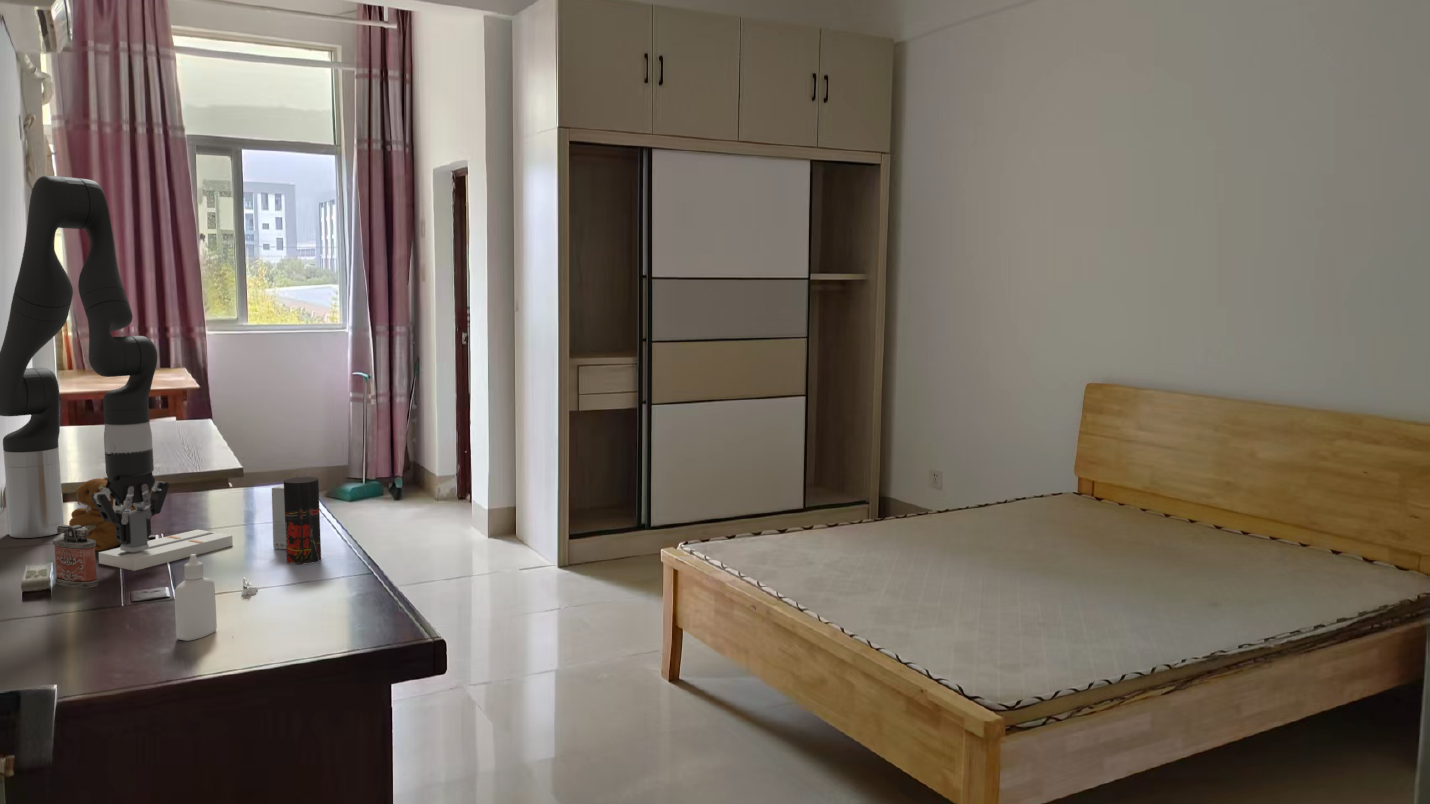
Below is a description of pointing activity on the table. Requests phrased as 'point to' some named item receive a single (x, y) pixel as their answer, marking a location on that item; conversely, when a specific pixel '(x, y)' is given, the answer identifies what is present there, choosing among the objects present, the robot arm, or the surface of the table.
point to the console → (166, 549)
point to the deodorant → (302, 520)
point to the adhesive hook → (248, 588)
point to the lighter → (75, 557)
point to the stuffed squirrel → (94, 515)
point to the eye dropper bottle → (195, 603)
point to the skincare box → (278, 517)
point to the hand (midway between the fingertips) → (134, 541)
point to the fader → (136, 532)
